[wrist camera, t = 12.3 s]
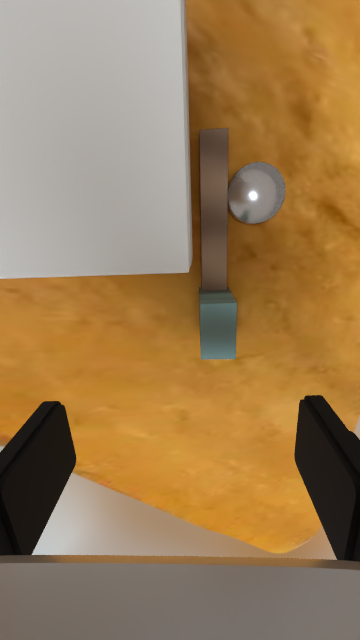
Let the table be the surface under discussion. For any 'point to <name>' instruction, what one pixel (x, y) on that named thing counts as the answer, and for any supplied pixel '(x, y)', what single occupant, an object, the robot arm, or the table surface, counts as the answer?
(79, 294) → the table surface
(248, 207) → the silver metal dome
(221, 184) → the mallet
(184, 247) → the cabinet
